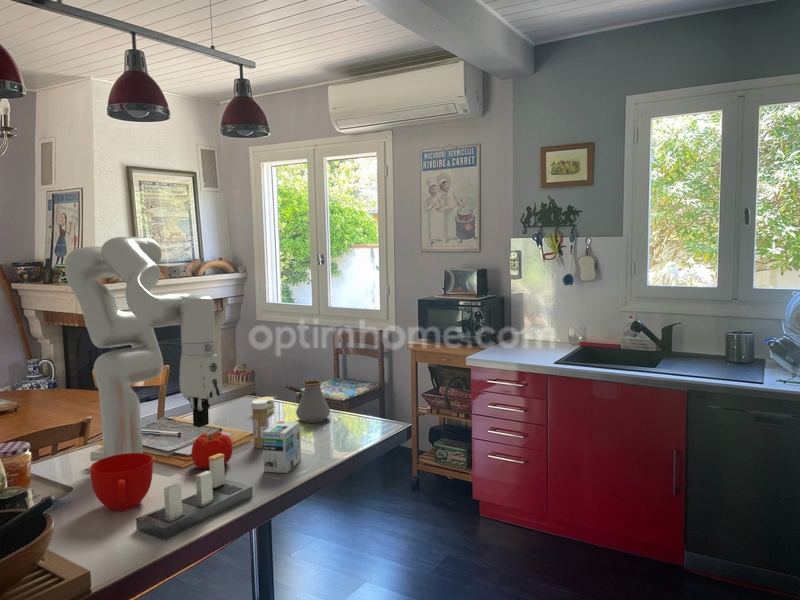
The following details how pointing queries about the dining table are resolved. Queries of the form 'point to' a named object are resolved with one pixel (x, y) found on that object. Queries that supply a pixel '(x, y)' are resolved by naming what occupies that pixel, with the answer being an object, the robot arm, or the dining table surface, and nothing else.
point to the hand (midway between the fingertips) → (201, 425)
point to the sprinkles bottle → (259, 421)
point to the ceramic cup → (122, 480)
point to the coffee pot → (311, 403)
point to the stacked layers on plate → (270, 404)
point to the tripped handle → (217, 469)
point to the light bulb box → (281, 446)
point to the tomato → (211, 448)
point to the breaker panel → (192, 506)
